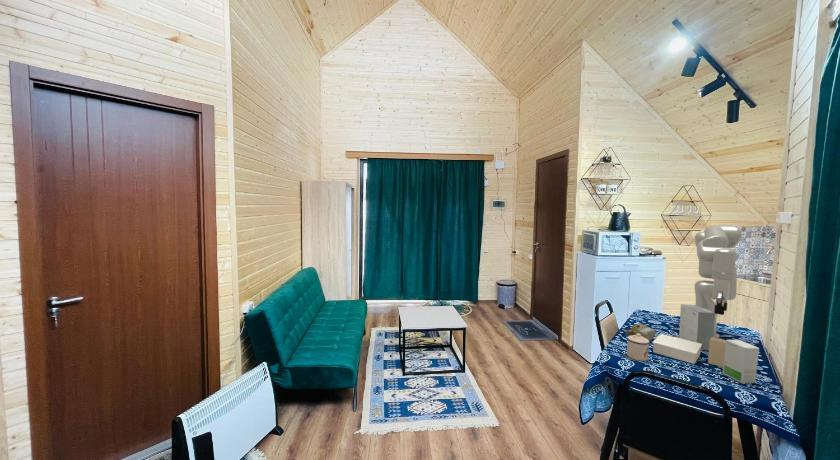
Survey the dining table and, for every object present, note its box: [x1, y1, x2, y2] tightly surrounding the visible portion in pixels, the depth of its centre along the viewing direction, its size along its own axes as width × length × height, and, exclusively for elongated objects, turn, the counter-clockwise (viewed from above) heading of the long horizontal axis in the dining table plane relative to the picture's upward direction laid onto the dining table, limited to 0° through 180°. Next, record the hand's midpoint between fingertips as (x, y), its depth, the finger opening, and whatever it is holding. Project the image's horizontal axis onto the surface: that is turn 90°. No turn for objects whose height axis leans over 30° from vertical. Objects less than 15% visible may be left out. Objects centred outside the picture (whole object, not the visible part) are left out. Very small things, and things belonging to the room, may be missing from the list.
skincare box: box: [722, 339, 760, 384], centre depth 135 cm, size 8×7×16 cm
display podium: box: [652, 333, 702, 365], centre depth 160 cm, size 17×17×5 cm
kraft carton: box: [707, 337, 727, 368], centre depth 149 cm, size 5×6×11 cm
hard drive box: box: [678, 303, 715, 352], centre depth 170 cm, size 16×8×20 cm, turn 168°
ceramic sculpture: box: [622, 322, 656, 342], centre depth 180 cm, size 11×9×15 cm
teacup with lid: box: [626, 333, 650, 362], centre depth 156 cm, size 12×9×12 cm
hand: (720, 312), depth 148 cm, fingers open, 9 cm apart
